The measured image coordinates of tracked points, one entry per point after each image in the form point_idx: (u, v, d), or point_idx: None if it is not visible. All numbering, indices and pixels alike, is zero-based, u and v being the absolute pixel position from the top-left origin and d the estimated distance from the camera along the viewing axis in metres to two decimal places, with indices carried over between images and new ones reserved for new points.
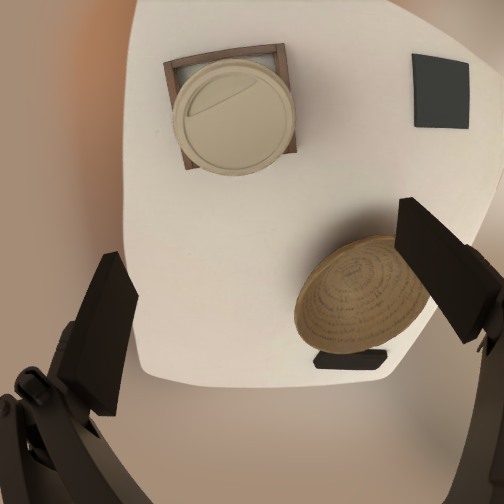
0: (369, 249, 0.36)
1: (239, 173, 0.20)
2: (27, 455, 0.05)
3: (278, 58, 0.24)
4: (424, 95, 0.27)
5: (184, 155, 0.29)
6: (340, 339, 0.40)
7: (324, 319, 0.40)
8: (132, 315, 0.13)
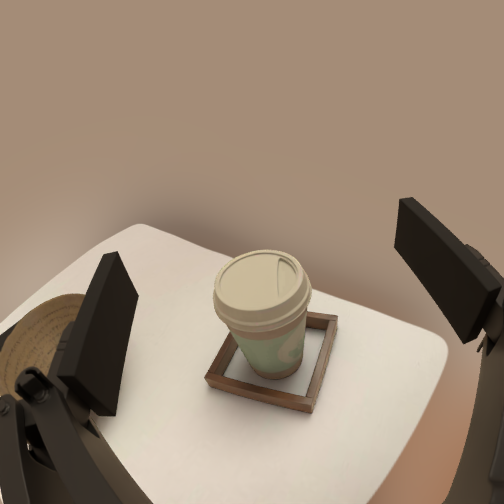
0: None
1: (221, 269, 0.27)
2: (28, 455, 0.05)
3: (297, 396, 0.26)
4: None
5: None
6: (39, 321, 0.34)
7: (63, 326, 0.35)
8: (132, 315, 0.13)
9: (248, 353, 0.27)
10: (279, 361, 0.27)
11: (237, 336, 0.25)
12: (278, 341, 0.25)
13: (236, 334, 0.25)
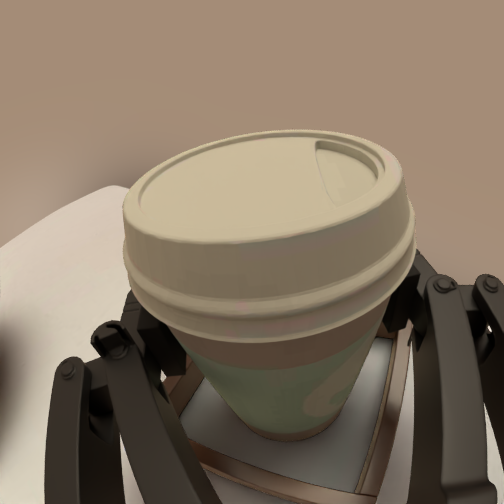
0: None
1: (164, 162, 0.10)
2: (86, 427, 0.06)
3: (340, 492, 0.08)
4: None
5: None
6: None
7: None
8: None
9: (223, 394, 0.10)
10: (303, 416, 0.10)
11: (186, 349, 0.08)
12: (315, 372, 0.07)
13: (182, 342, 0.08)
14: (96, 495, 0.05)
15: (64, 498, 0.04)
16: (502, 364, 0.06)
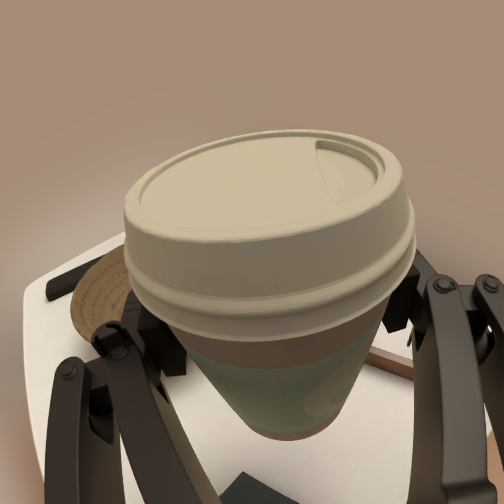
0: None
1: (164, 161, 0.10)
2: (86, 427, 0.06)
3: (412, 361, 0.24)
4: None
5: None
6: None
7: None
8: None
9: (223, 393, 0.10)
10: (303, 416, 0.10)
11: (186, 348, 0.08)
12: (315, 371, 0.07)
13: (182, 341, 0.08)
14: (96, 495, 0.05)
15: (64, 498, 0.04)
16: (502, 364, 0.06)
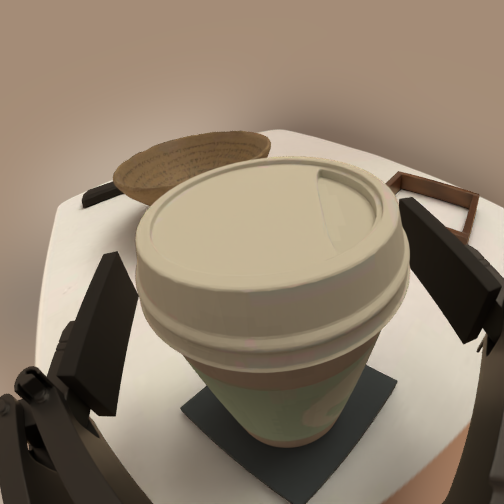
0: None
1: (171, 189, 0.10)
2: (27, 455, 0.05)
3: (455, 230, 0.23)
4: None
5: (408, 174, 0.34)
6: (178, 151, 0.40)
7: (203, 160, 0.40)
8: (132, 315, 0.13)
9: (228, 406, 0.10)
10: (302, 427, 0.10)
11: (196, 369, 0.09)
12: (313, 392, 0.08)
13: (192, 364, 0.08)
14: None
15: None
16: None
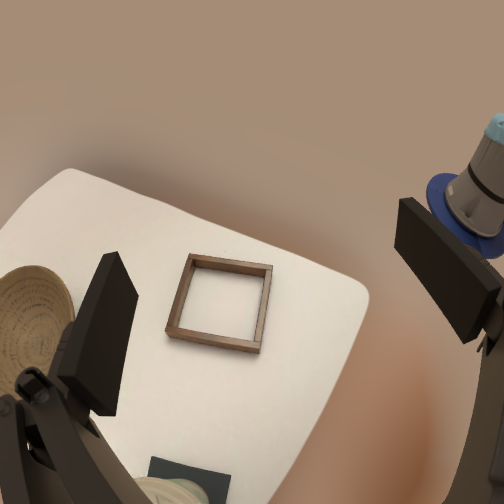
0: None
1: None
2: (27, 455, 0.05)
3: (247, 341, 0.34)
4: (183, 474, 0.26)
5: (199, 256, 0.40)
6: None
7: (21, 299, 0.33)
8: (132, 315, 0.13)
9: None
10: None
11: None
12: None
13: None
14: None
15: None
16: None
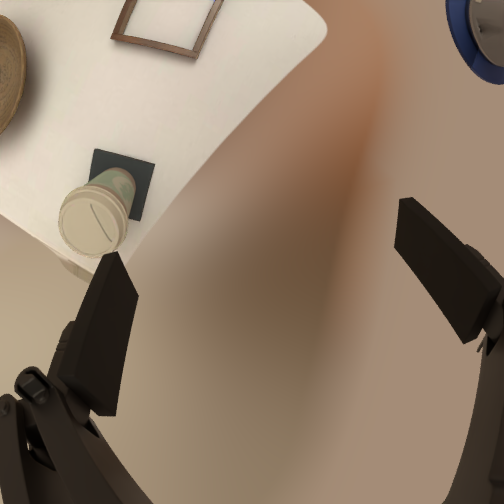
0: (13, 87, 0.26)
1: (59, 228, 0.29)
2: (27, 455, 0.05)
3: (186, 49, 0.29)
4: (118, 164, 0.37)
5: None
6: None
7: None
8: (132, 315, 0.13)
9: None
10: None
11: None
12: None
13: None
14: None
15: None
16: None
